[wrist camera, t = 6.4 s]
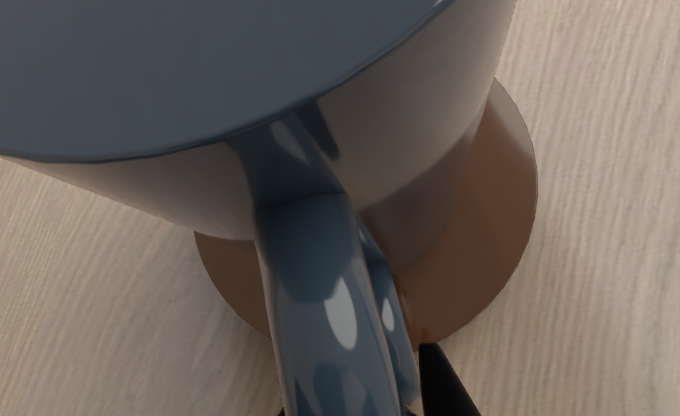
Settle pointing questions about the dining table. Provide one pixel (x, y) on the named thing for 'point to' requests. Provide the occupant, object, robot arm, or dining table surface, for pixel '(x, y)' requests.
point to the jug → (295, 163)
